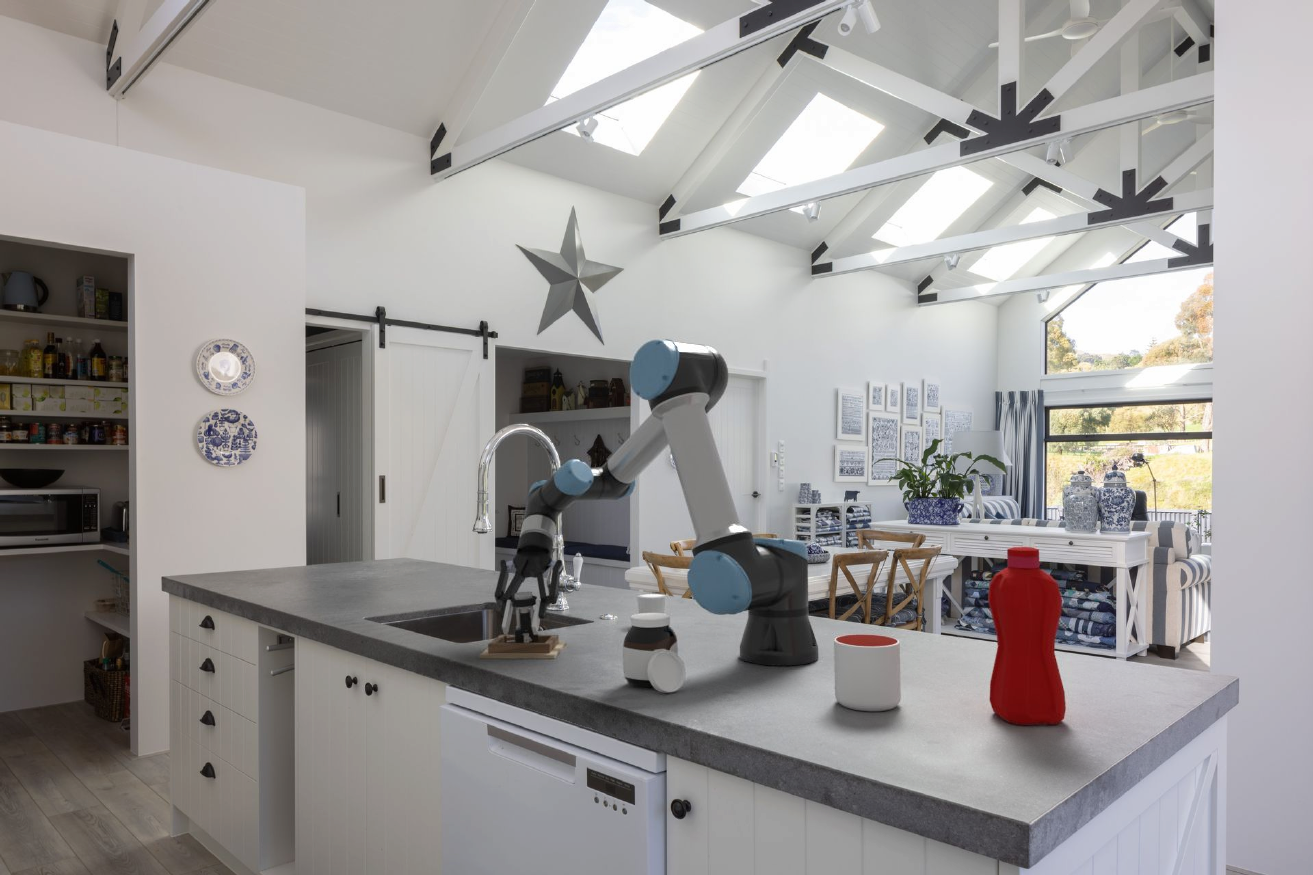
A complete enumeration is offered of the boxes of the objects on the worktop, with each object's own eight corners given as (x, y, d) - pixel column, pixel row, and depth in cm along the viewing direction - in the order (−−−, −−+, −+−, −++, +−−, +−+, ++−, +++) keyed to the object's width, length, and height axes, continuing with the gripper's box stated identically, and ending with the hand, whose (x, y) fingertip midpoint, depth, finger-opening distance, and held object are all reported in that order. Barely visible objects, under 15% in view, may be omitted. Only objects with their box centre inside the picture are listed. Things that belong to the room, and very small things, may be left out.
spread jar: (646, 674, 158) (645, 609, 158) (702, 681, 152) (701, 614, 153) (610, 690, 148) (609, 620, 148) (669, 698, 142) (668, 626, 142)
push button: (507, 646, 176) (504, 596, 176) (506, 641, 181) (503, 593, 181) (540, 642, 177) (537, 593, 178) (539, 638, 182) (535, 590, 183)
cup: (889, 717, 130) (888, 649, 130) (825, 708, 135) (824, 642, 135) (909, 701, 138) (907, 637, 139) (848, 693, 144) (846, 631, 144)
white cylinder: (666, 627, 202) (666, 597, 203) (636, 628, 202) (636, 597, 203) (666, 622, 209) (666, 592, 209) (637, 622, 209) (637, 593, 209)
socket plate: (554, 658, 172) (554, 646, 172) (479, 658, 173) (479, 645, 173) (566, 644, 185) (566, 633, 185) (496, 644, 186) (496, 633, 186)
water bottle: (1038, 705, 135) (1034, 542, 136) (1074, 727, 124) (1069, 549, 125) (979, 706, 135) (975, 543, 135) (1009, 728, 124) (1005, 550, 124)
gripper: (580, 551, 194) (567, 641, 177) (498, 551, 196) (478, 641, 179) (575, 529, 189) (562, 619, 172) (492, 530, 190) (470, 619, 174)
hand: (519, 630), depth 176 cm, fingers closed on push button, 5 cm apart
